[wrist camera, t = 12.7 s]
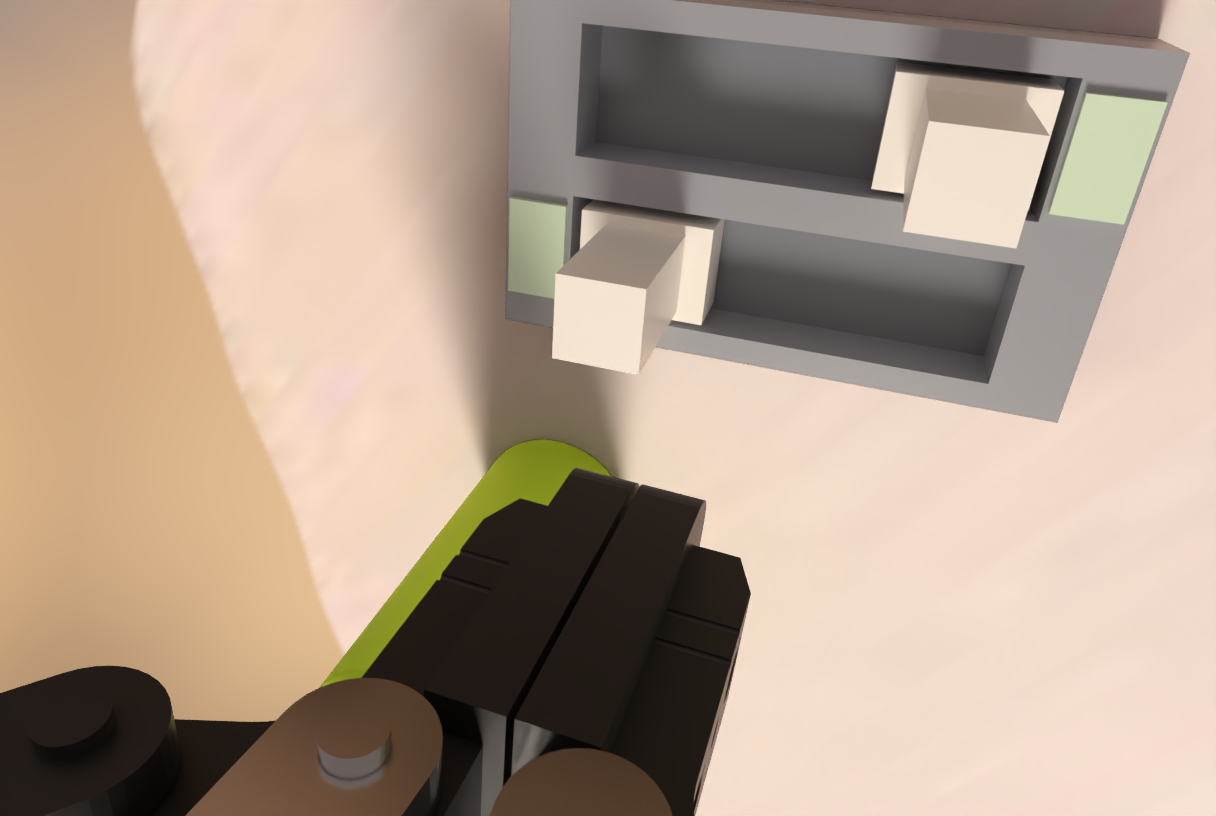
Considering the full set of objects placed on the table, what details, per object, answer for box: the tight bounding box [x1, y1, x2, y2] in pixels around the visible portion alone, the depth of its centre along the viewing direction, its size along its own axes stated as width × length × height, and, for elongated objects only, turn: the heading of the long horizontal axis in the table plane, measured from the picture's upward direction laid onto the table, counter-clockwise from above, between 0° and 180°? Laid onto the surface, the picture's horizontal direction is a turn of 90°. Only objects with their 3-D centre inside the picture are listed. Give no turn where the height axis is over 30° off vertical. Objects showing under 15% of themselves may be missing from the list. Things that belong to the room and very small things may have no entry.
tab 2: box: [871, 62, 1064, 248], centre depth 22 cm, size 4×3×7 cm
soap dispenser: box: [321, 440, 611, 687], centre depth 28 cm, size 6×7×20 cm
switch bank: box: [506, 0, 1190, 423], centre depth 27 cm, size 17×10×3 cm, turn 86°
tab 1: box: [552, 199, 725, 375], centre depth 26 cm, size 4×3×7 cm
